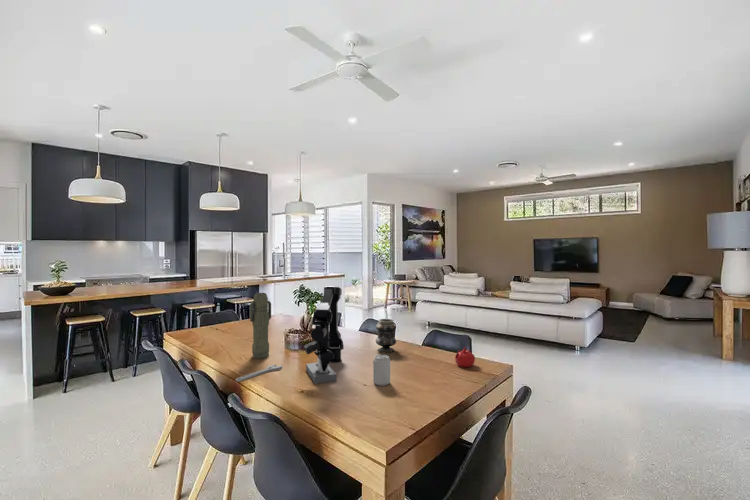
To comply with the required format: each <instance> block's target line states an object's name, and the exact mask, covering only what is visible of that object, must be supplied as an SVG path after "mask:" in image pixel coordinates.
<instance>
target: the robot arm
mask: <svg viewBox="0 0 750 500" xmlns="http://www.w3.org/2000/svg"><path fill="white" fill-rule="evenodd" d="M341 296H342V288H341V287H340V286H334V285H326V286H324V288H323V294H322V299H321V302H320V304H319V305H317V306H316V308H315V310H314V312H313V315H312V321H311V326H315V327H314V328H313V329H312V331H311V333H310V336H311V339H312V340H313V341H311V342H309V343H307V344H304V345H303V348H304V351H305V353H306V355H310V354H311V353H314V354H315V355H316V356H317V359H318V358H319V359H320V360H321V364H322V370H323V371H325V370H326V368H327V366H328V365H330V364H329V363H340V362H342V361H343V360H342V350H344V342H343V341H344V340H343V338H342V334H341V332H340V331H339V330H338V329H339V325H338V324H339V322H338V321H339V320H338V318H339V317H338V316H339V315H338V312H339V311H338V308H339V307H338V302H339V301H340V300H341ZM318 356H319V357H318Z"/></svg>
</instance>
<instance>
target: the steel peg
mask: <svg viewBox="0 0 750 500" xmlns="http://www.w3.org/2000/svg"><path fill="white" fill-rule="evenodd" d="M318 357H319V356H317V363H318V375H319V374H327V373H328V366H327V368H326V370H325V371H323V370H322V364H321V360H320V359H319V358H318Z"/></svg>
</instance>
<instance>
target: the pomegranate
mask: <svg viewBox="0 0 750 500" xmlns="http://www.w3.org/2000/svg"><path fill="white" fill-rule="evenodd" d="M454 360H455V363H456V365H457V366H459V367H461V368H465V367H466V368H470V367H472V366H473V365H474V364H475V361H476V358H475V355H474V354H473V351H471V350H469V349H466V347H463V348H462V349H461V350H460V349H459V350H458V351H457V353H456V354H455V357H454Z"/></svg>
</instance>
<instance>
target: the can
mask: <svg viewBox="0 0 750 500" xmlns="http://www.w3.org/2000/svg"><path fill="white" fill-rule="evenodd" d="M372 364H373V365H372V366H373V367H372V368H373V369H372V370H373V374H372V375H373V379H372V380H373V381H372V382H373V383H374V384H375V385H377V386H380V387H381V386H384V387H385V386H387V385H389V384H390V383H391V359H390V357H389V355H387V354H378V355H375V356H374V358H373V363H372Z"/></svg>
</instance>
